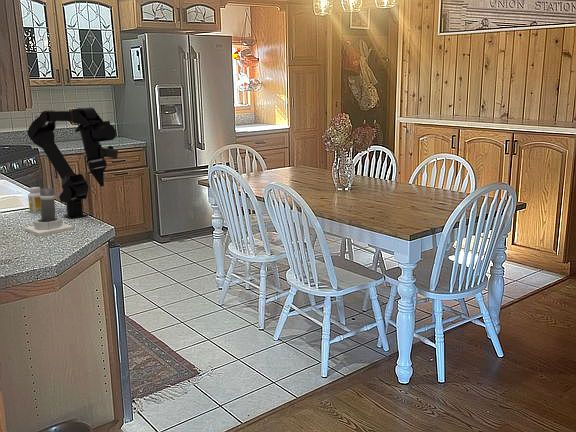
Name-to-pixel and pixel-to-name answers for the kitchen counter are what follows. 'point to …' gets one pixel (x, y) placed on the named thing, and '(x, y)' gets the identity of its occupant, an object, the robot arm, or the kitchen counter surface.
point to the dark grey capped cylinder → (47, 205)
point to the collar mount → (48, 227)
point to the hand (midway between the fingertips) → (101, 184)
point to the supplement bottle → (34, 200)
